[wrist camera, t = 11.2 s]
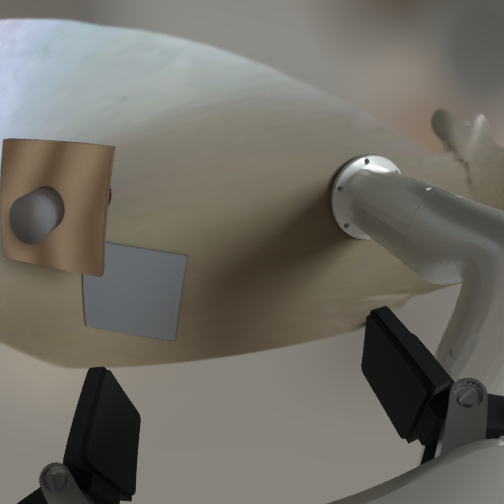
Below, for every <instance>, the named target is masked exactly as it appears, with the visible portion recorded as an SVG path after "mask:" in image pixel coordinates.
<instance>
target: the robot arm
mask: <svg viewBox="0 0 504 504" xmlns="http://www.w3.org/2000/svg"><path fill="white" fill-rule="evenodd" d="M364 160H365V162H364ZM338 187H339V189H338ZM331 208H332V213H333V216H334V218H335V220H336V222H337V224H338V225H339V226H340V227H341V228H342V229H343V230H344V231H345V232H346V233H347V234H349V235H350V236H352V237H354V238H358V239H373V240H375V241H376V242H377V243H379V244H380V245H381V246H382V247H384V248H385V249H386V250H388V251H389V252H390V253H391V254H393V255H394V256H395V257H397V258H398V259H399V260H400V261H402V262H403V263H404V264H405V265H407V266H408V267H409V268H410V269H412V270H413V271H414V272H415V273H417V274H418V275H419V276H420V277H422V278H423V279H425V280H427V281H429V282H431V283H435V284H451V283H455V282H459V281H462V286H461V291H460V294H459V297H458V299H457V303H456V306H455V309H454V311H453V314H452V316H451V319H450V321H449V323H448V326H447V328H446V330H445V332H444V334H443V336H442V339H441V341H440V343H439V345H438V347H437V350H436V352H435V354H434V356H433V355H432V354H431V353H430V351H429V350H428V349H427V348H426V347H425V346H424V344H423V343H422V342H421V341H420V340H419V339H418V338H417V336H415V335H414V334H412V333H410V331H409V330H408V329H407V328H406V327H405V326H404V325H403V324H402V322H400V320H399V319H398V318H397V317H396V316H395V315H394V313H393V312H392V311H391V310H390V309H389V308H388V307H387V306H384V307H380V308H377V309H374V310H372V311H371V312H370V315H368V316H367V318H366V329H365V339H364V348H363V357H362V365H361V367H362V372H363V374H364V376H365V377H366V379H367V381H368V382H369V384H370V386H371V387H372V389H373V391H374V393H375V394H376V396H377V398H378V399H379V401H380V403H381V405H382V406H383V408H384V410H385V411H386V413H387V415H388V417H389V418H390V420H391V422H392V424H393V425H394V427H395V429H396V431H397V432H398V434H399V436H400V437H401V438H402V439H405V438H406V440H407V442H408V443H411V442H413V441H415V440H417V439H419V441H420V443H421V444H422V445H423V446H422V450H421V453H420V457H419V461H418V465H417V467H416V468H414V469H412V470H410V471H408V472H406V473H404V474H402V475H400V476H398V477H395V478H393V479H391V480H388V481H386V482H384V483H382V484H379V485H377V486H374V487H372V488H370V489H367V490H365V491H362V492H359V493H357V494H354V495H351V496H348V497H345V498H342V499H340V500H336V501H333V502H330V503H327V504H504V211H503V210H499V209H496V208H493V207H489V206H486V205H483V204H481V203H478V202H475V201H473V200H470V199H467V198H465V197H462V196H460V195H457V194H455V193H452V192H450V191H447V190H445V189H442V188H439V187H437V186H434V185H431V184H429V183H426V182H423V181H420V180H418V179H415V178H412V177H409V176H406V175H403V174H401V172H400V170H399V169H398V168H397V166H396V165H395V164H394V163H393V162H391V161H390V160H388V159H387V158H385V157H382V156H378V155H372V154H371V155H363V156H359V157H357V158H355V159H353V160H351V161H350V162H349V163H347V164H346V165H345V166H344V167H343V168H342V170H341V171H340V172H339V174H338V176H337V177H336V179H335V182H334V185H333V188H332V193H331ZM140 422H141V419H140V414H139V412H138V411H137V409H136V408H135V407H134V405H133V404H132V402H131V401H130V399H129V398H128V397H127V395H126V394H125V392H124V391H123V389H122V388H121V386H120V385H119V383H118V382H117V380H116V379H115V377H114V376H113V374H112V372H111V371H110V370H107V369H106V368H105V367H95V368H90V369H89V370H88V372H87V375H86V378H85V381H84V385H83V388H82V392H81V394H80V397H79V401H78V404H77V408H76V411H75V414H74V418H73V422H72V426H71V429H70V433H69V437H68V441H67V445H66V450H65V454H64V458H63V464H61V463H57V462H56V463H51V464H48V465H47V466H46V467H44V468H43V470H42V472H41V474H40V477H39V483H40V488H38V489H37V490H35V491H34V492H33V493H31V494H30V495H29V496H27V497H26V498H24V499H23V500H21V501H20V502H19V503H17V504H119V503H120V500H121V501H132V495H134V494H135V491H136V470H137V456H138V444H139V433H140Z"/></svg>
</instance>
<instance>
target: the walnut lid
mask: <svg viewBox="0 0 504 504" xmlns="http://www.w3.org/2000/svg"><path fill="white" fill-rule="evenodd" d="M115 148H116V146H109V145H99V144H90V143H79V142H67V141H54V140H37V139H11V138H9V139H3V147H2V160H1V184H0V205H1V229H2V242H3V253H4V257H5V258H10V259H14V260H18V261H23V262H27V263H32V264H36V265H41V266H45V267H50V268H55V269H60V270H65V271H69V272H75V273H80V274H85V275H90V276H95V277H102V276H103V274H104V270H105V241H106V225H107V212H108V201H109V192H110V183H111V175H112V168H113V161H114V154H115Z"/></svg>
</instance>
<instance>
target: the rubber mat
mask: <svg viewBox="0 0 504 504" xmlns="http://www.w3.org/2000/svg"><path fill="white" fill-rule="evenodd" d="M186 260H187V255H183V254H177V253H171V252H165V251H159V250H153V249H147V248H140V247H134V246H128V245H123V244H117V243H111V242H105V270H104V274H103V276H102V277H95V276H90V275H85V274H83V291H84V308H85V321H86V326H90V327H95V328H99V329H104V330H109V331H115V332H120V333H126V334H131V335H137V336H143V337H149V338H156V339H162V340H169V341H175V336H176V328H177V320H178V313H179V306H180V299H181V292H182V285H183V279H184V273H185V266H186Z"/></svg>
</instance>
